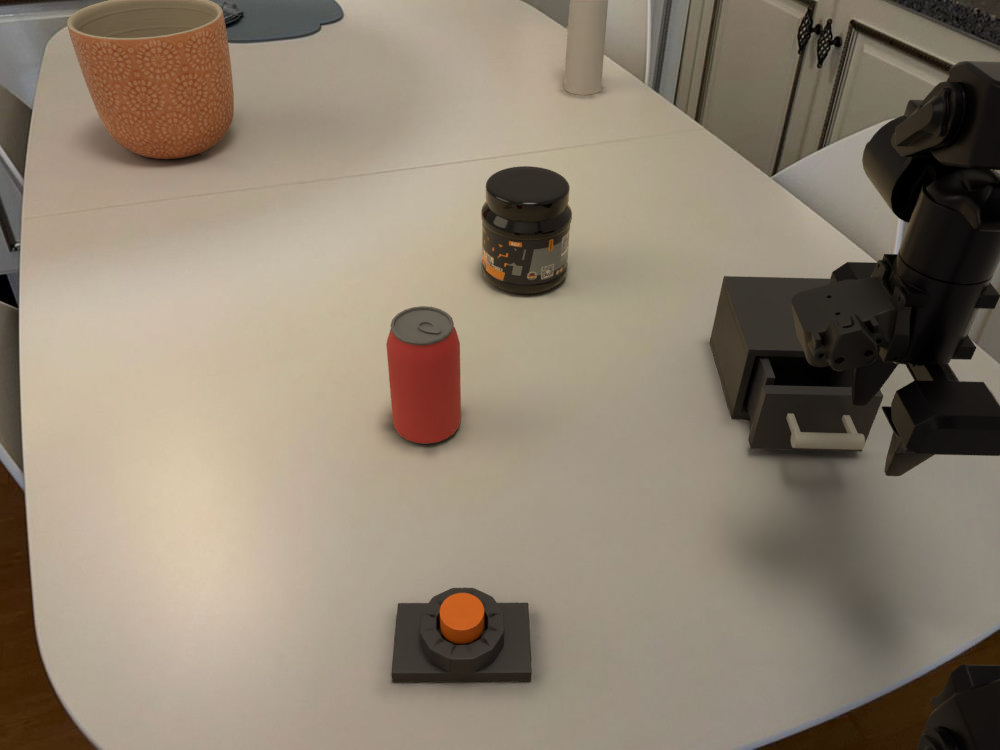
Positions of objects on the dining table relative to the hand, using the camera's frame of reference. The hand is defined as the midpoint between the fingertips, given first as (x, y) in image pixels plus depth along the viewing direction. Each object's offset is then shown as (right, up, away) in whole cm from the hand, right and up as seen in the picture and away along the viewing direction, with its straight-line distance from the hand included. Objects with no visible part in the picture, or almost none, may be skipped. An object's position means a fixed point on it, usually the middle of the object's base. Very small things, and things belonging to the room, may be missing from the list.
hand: (874, 438), depth 65 cm
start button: (-31, -14, -2) cm, 34 cm away
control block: (-31, -15, -1) cm, 35 cm away
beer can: (-35, 0, +18) cm, 40 cm away
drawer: (0, 0, +18) cm, 18 cm away
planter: (-78, +40, +67) cm, 111 cm away
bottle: (-14, +56, +88) cm, 105 cm away
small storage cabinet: (0, +4, +24) cm, 25 cm away
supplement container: (-25, +17, +40) cm, 50 cm away
